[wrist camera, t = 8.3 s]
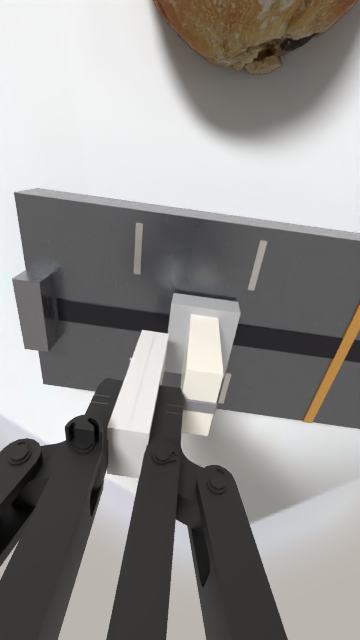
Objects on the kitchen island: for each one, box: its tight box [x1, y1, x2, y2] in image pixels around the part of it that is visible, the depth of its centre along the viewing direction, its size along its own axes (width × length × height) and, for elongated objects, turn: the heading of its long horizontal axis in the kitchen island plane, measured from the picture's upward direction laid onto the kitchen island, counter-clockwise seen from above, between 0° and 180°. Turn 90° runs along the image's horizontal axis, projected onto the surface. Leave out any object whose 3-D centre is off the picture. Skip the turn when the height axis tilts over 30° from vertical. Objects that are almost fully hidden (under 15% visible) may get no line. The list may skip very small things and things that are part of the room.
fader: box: [164, 293, 241, 436], centre depth 16 cm, size 4×5×7 cm
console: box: [12, 188, 360, 429], centre depth 20 cm, size 28×14×4 cm, turn 83°
